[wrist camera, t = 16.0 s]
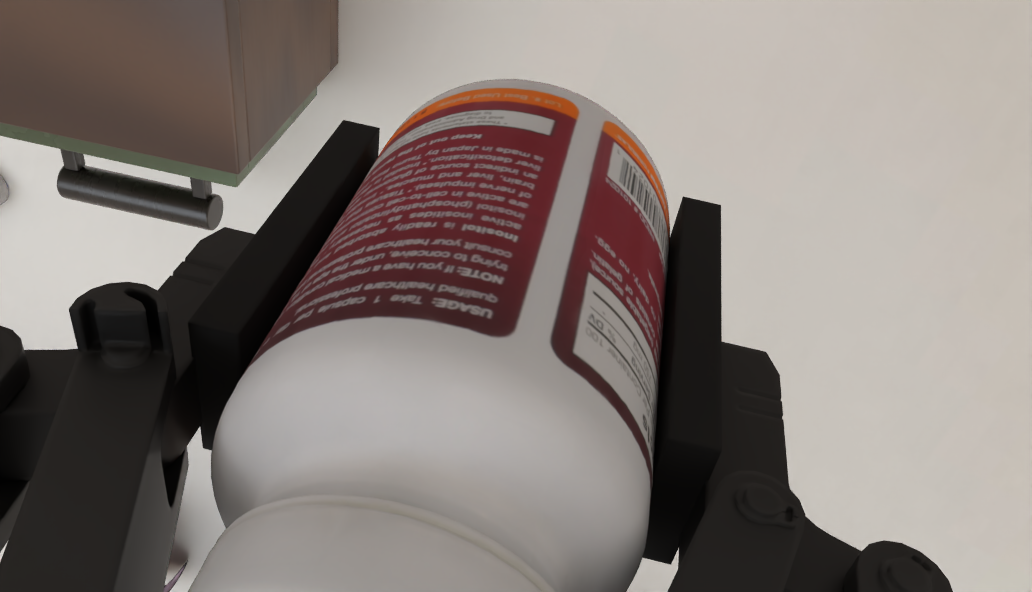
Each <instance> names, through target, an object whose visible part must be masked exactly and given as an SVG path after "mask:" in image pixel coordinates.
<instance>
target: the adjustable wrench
mask: <svg viewBox="0 0 1032 592" xmlns="http://www.w3.org/2000/svg"><path fill="white" fill-rule="evenodd" d="M7 197H8V188H7V185H6V183H5V181H4V180H3V178H2V177H1V175H0V205H1V204H2V203H3V202H5V201H6V200H7Z"/></svg>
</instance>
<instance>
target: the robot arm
mask: <svg viewBox="0 0 1032 592" xmlns="http://www.w3.org/2000/svg"><path fill="white" fill-rule="evenodd" d="M379 130H380V128H376V127H372V126H368V125H363V124H359V123H354V122H350V121H345V120H343V121H342V123H341V124H340V125H339V127H338V128H337V129H336V130H335V132H334V133H333V134H332V136H331V137H330V138H329V139H328V141H327V142H326V143H325V145H324V146H323V147H322V149H321V150H320V151H319V152H318V154H317V155H316V156H315V158H314V159H313V160H312V162H311V163H310V164H309V165H308V167H307V168H306V169H305V171H304V172H303V173H302V175H301V176H300V177H299V178H298V180H297V181H296V182H295V184H294V185H293V186H292V187H291V189H290V190H289V191H288V193H287V194H286V195H285V197H284V198H283V199H282V200H281V202H280V203H279V204H278V206H277V207H276V208H275V210H274V211H273V212H272V213H271V215H270V216H269V217H268V219H267V220H266V221H265V223H264V224H263V225H262V226H261V228H260V229H259V230H258V232H257V233H256V234H252V233H247V232H243V231H239V230H234V229H230V228H226V227H224V228H222V229H221V230H219V231H217V232H215V233H213V234H211V235H209V236H208V237H206V238H204V239H202V240H200V242H199V243H198V244H197V245H196V246H195V247H194V249H193V250H192V251H191V252H190V253H189V254H188V256H187V257H186V258H185V262H183V261H182V263H181V264H180V265H179V266H178V267H177V268H176V270H175V271H174V272H173V276H170V277H169V278H168V279H167V280H166V281H165V283H164V284H163V285H162V286H161V287H160V288H159V290H158V291H157V290H155V289H153V288H151V287H149V286H147V285H145V284H138V283H132V282H121V283H109V284H106V285H103V286H100V287H97V288H93V289H91V290H89V291H88V292H86V293H85V294H83V295H81V296H80V297H78V298H77V299H76V300H75V302H74V303H73V304H72V306H71V307H70V309H69V312H70V317H71V321H72V325H73V329H74V334H75V338H76V342H77V346H78V349H69V350H24V348H23V345H22V341H21V338H20V337H19V336H18V335H17V334H16V333H15V332H14V331H13V330H11V329H8V328H5V327H3V326H0V552H1V550H2V549H3V547H4V546H5V544H6V543H7V541H8V540H9V541H8V543H7V546H6V549H5V551H4V554H3V557H2V559H1V562H0V592H163V589H164V584H165V579H166V574H167V570H168V565H169V560H170V555H171V550H172V545H173V540H174V535H175V530H176V525H177V520H178V515H179V510H180V505H181V500H182V495H183V490H184V485H185V480H186V475H187V470H188V452H187V445H188V444H189V442H190V440H191V439H192V437H193V436H194V434H195V433H196V431H197V430H198V428H199V427H201V435H202V443H203V448H205V449H209V450H212V448H213V442H214V437H215V433H216V429H217V426H218V423H219V420H220V418H221V415H222V413H223V410H224V408H225V406H226V404H227V402H228V400H229V398H230V397H231V395H232V393H233V391H234V389H235V388H236V386H237V383H238V382H239V380H240V378H241V377H242V375H243V374H244V372H245V370H246V369H247V367H248V365H249V364H250V362H251V361H252V359H253V358H254V356H255V355H256V353H257V351H258V350H259V348H260V346H261V345H262V343H263V341H264V340H265V338H266V337H267V335H268V333H269V332H270V331H271V329H272V327H273V326H274V324H275V322H276V321H277V319H278V318H279V316H280V315H281V313H282V311H283V309H284V308H285V306H286V305H287V303H288V302H289V300H290V298H291V296H292V294H293V293H294V291H295V290H296V288H297V286H298V285H299V283H300V281H301V280H302V279H303V277H304V276H305V274H306V272H307V271H308V269H309V268H310V266H311V264H312V262H313V261H314V259H315V258H316V256H317V255H318V253H319V252H320V250H321V249H322V247H323V245H324V244H325V242H326V240H327V239H328V237H329V236H330V234H331V232H332V231H333V229H334V228H335V226H336V224H337V223H338V221H339V220H340V218H341V216H342V215H343V213H344V212H345V210H346V209H347V207H348V205H349V204H350V202H351V200H352V199H353V197H354V195H355V194H356V192H357V190H358V189H359V187H360V186H361V184H362V182H363V181H364V179H365V178H366V176H367V174H368V173H369V171H370V169H371V168H372V166H373V165H374V163H375V161H376V159H377V158H378V149H379ZM782 416H783V411H782V401H781V387H780V375H779V373H778V371H777V370H776V368H775V366H774V365H773V363H772V361H771V359H770V358H769V356H768V354H767V353H766V352H764V351H759V350H755V349H751V348H747V347H742V346H738V345H734V344H729V343H725V342H721V205H718V204H713V203H709V202H705V201H700V200H696V199H691V198H687V197H683V198H682V202H681V205H680V208H679V211H678V214H677V217H676V220H675V224H674V227H673V230H672V233H671V236H670V243H669V257H668V272H667V282H666V299H665V313H664V326H663V338H662V350H661V368H660V379H659V392H658V406H657V423H656V435H655V449H654V463H653V483H652V491H651V502H650V509H649V525H648V532H647V538H646V545H645V549H644V553H643V558H647V559H651V560H655V561H659V562H663V563H667V564H671V563H672V561H673V559H674V557H675V554H676V552H677V550H678V548H679V563H678V571H677V573H676V575H675V577H674V579H673V581H672V583H671V586H670V588H669V590H668V592H953V591H952V588H951V585H950V583H949V580H948V579H947V578H946V576H945V575H944V574H943V572H942V571H941V570H940V569H939V567H938V566H937V565H936V564H935V563H934V562H933V561H931V560H930V559H929V558H927V557H926V556H925V555H924V554H922V553H921V552H920V551H918V550H915V549H913V548H911V547H909V546H907V545H904V544H902V543H897V542H890V541H880V542H876V543H871V544H869V545H868V546H867V547H866V548H865V549H864V550H863V551H860V550H858V549H856V548H854V547H852V546H850V545H848V544H846V543H845V542H843V541H841V540H839V539H837V538H835V537H833V536H831V535H829V534H828V533H826V532H825V531H823V530H822V529H820V528H818V527H817V526H816V525H815V524H814V523H812V522H811V521H810V520H809V519H808V518H807V517H806V516H805V513H804V510H803V508H802V505H801V503H800V501H799V499H798V498H797V497H796V496H795V494H794V493H793V492H792V491H791V490H790V487H789V483H788V471H787V459H786V447H785V435H784V423H783V419H782Z"/></svg>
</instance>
